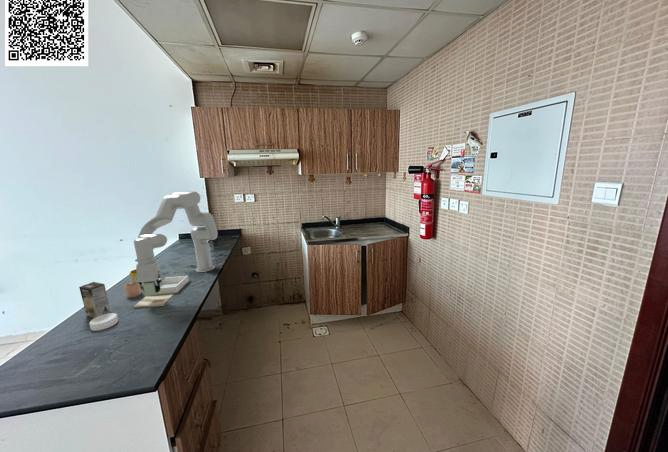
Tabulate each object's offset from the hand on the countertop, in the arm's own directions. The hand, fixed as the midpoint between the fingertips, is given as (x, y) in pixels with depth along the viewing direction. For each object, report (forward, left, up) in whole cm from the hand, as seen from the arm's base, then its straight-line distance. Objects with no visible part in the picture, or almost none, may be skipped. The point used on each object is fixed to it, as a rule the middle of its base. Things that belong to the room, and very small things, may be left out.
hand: (152, 291), depth 144 cm
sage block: (0, 0, -1) cm, 1 cm away
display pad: (0, 0, -6) cm, 6 cm away
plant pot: (-27, -21, -6) cm, 35 cm away
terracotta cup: (-10, -16, -6) cm, 20 cm away
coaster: (+20, -12, -7) cm, 24 cm away
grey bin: (-16, 0, -6) cm, 17 cm away
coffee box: (+9, -22, -6) cm, 25 cm away
